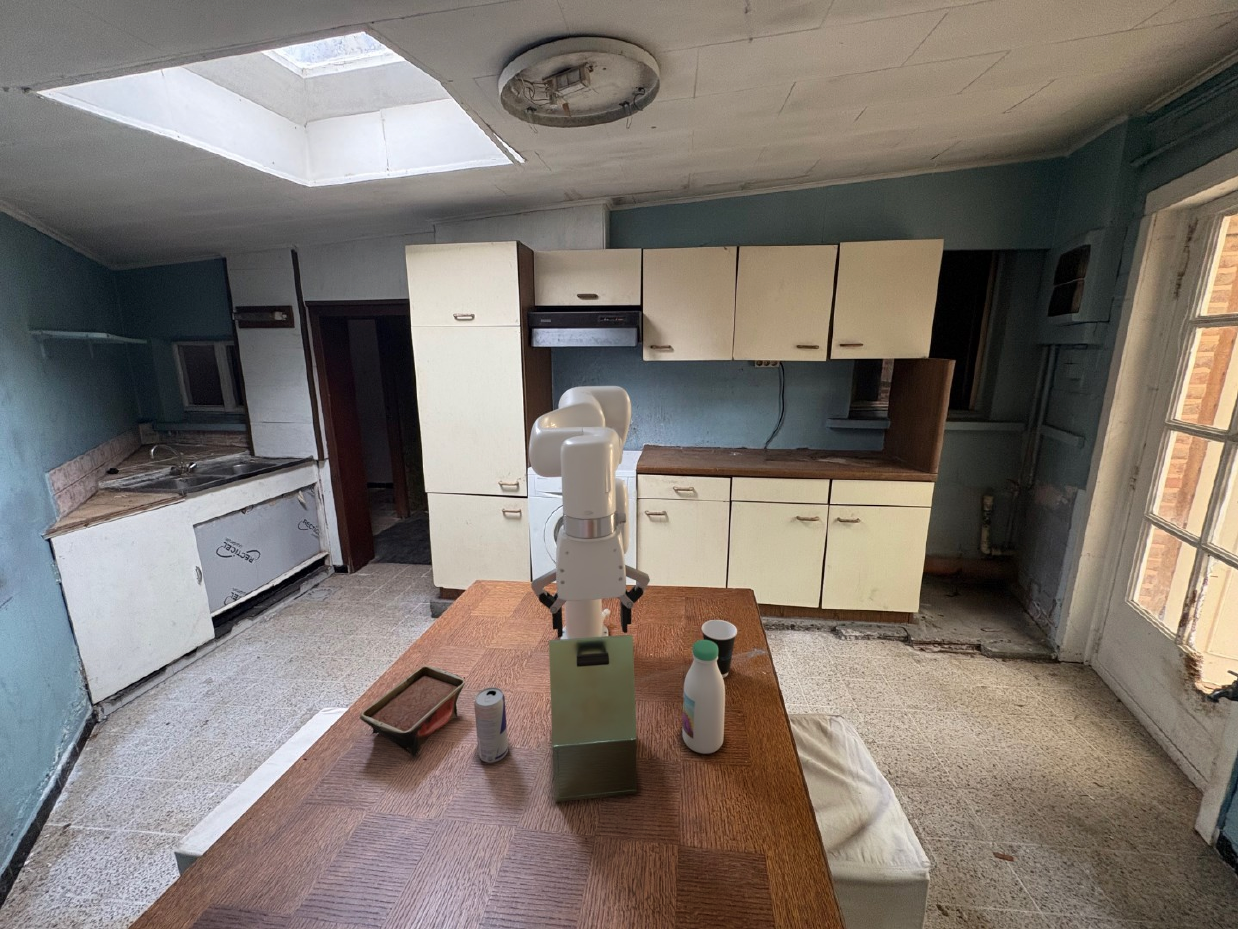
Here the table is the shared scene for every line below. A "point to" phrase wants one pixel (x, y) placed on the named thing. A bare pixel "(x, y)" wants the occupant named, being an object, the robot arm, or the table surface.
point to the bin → (594, 769)
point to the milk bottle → (704, 700)
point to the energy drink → (491, 724)
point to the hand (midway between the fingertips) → (592, 630)
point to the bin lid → (592, 689)
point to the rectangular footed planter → (415, 707)
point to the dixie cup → (721, 641)
